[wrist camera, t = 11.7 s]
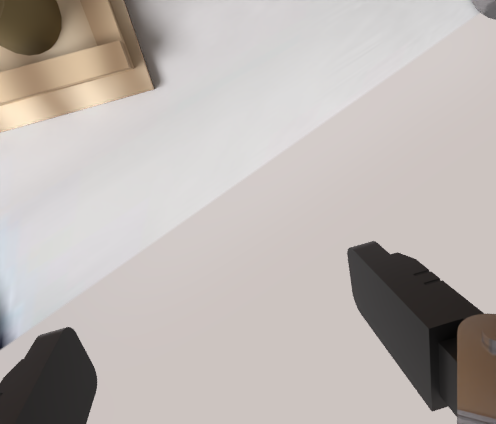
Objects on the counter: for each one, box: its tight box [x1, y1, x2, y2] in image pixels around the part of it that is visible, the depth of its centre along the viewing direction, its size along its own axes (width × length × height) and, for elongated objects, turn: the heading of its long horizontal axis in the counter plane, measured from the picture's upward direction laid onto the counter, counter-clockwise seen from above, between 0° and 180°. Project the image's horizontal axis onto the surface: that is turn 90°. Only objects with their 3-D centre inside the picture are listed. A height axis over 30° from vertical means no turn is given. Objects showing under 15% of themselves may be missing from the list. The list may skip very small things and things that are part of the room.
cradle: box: [0, 0, 154, 132], centre depth 27 cm, size 16×16×4 cm
